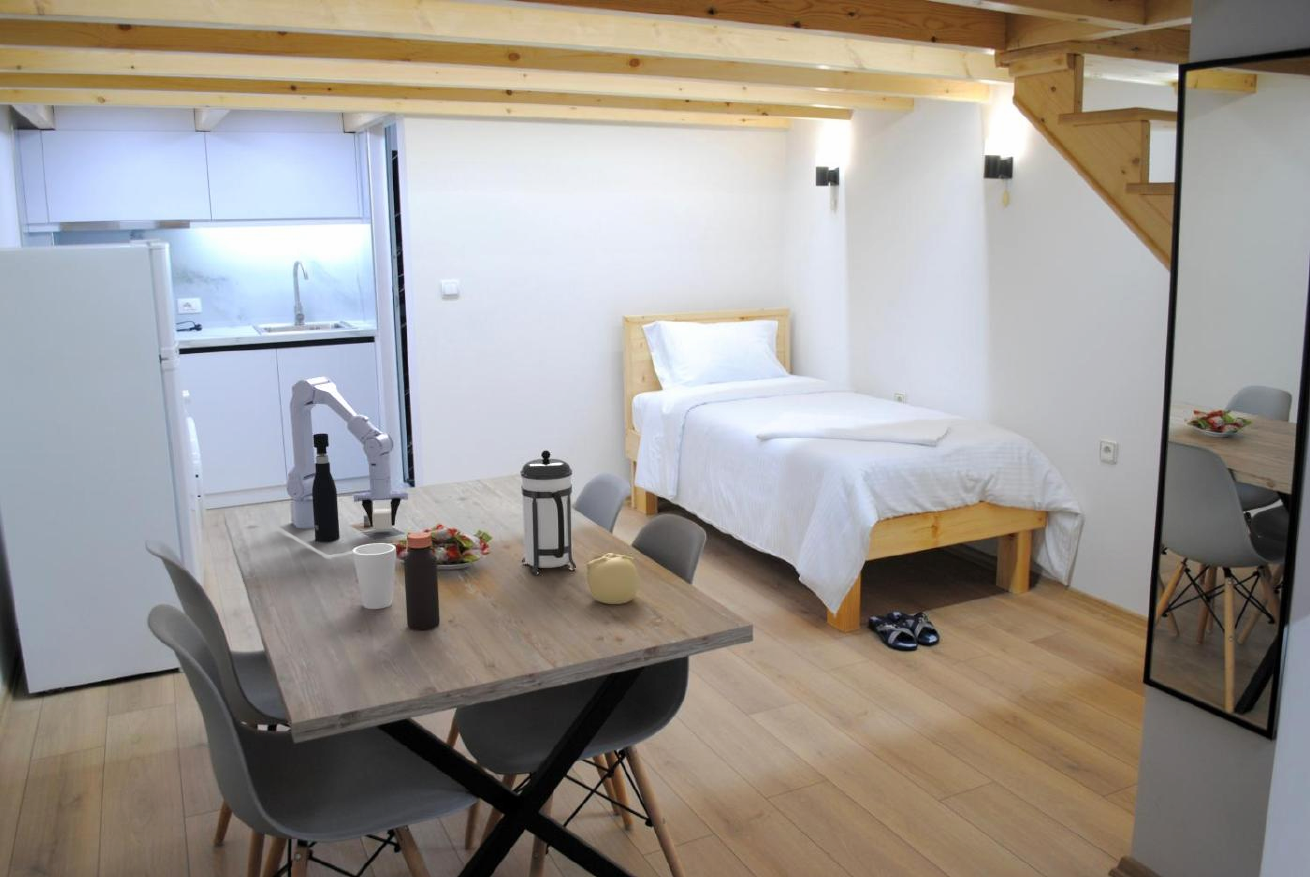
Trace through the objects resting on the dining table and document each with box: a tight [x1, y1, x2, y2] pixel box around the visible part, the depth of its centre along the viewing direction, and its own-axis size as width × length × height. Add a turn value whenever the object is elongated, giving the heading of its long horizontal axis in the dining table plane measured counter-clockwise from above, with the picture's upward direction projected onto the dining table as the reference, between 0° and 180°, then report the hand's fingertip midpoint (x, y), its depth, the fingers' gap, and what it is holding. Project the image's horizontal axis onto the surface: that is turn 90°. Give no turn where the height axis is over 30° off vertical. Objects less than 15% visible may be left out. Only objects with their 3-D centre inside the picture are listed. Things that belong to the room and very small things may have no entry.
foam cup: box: [352, 542, 397, 610], centre depth 239 cm, size 10×9×13 cm
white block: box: [372, 508, 393, 530], centre depth 295 cm, size 5×5×4 cm
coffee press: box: [519, 450, 577, 575], centre depth 262 cm, size 17×16×30 cm
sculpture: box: [586, 552, 640, 605], centre depth 241 cm, size 12×12×11 cm
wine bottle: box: [312, 433, 341, 543], centre depth 287 cm, size 6×6×30 cm
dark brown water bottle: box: [403, 531, 441, 631], centre depth 225 cm, size 7×7×20 cm
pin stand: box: [349, 514, 373, 532], centre depth 303 cm, size 8×8×4 cm
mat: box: [360, 526, 406, 540], centre depth 295 cm, size 9×9×1 cm
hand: (382, 525), depth 295 cm, fingers closed on white block, 5 cm apart
